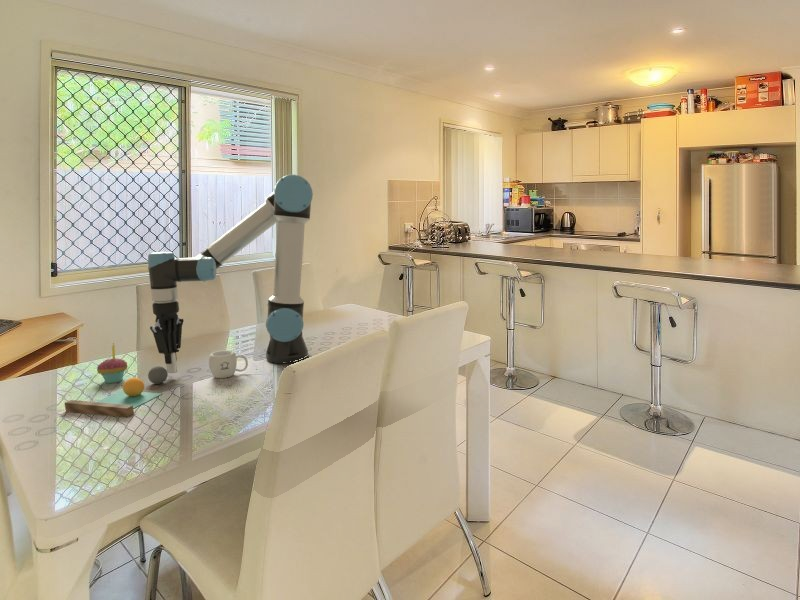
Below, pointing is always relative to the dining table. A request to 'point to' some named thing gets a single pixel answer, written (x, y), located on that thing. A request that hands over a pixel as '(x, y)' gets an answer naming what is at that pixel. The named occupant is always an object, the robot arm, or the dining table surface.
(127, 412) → the wall
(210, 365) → the mug
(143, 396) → the teal mark
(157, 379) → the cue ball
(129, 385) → the orange ball
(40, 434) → the dining table surface
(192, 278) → the robot arm
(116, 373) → the cupcake
